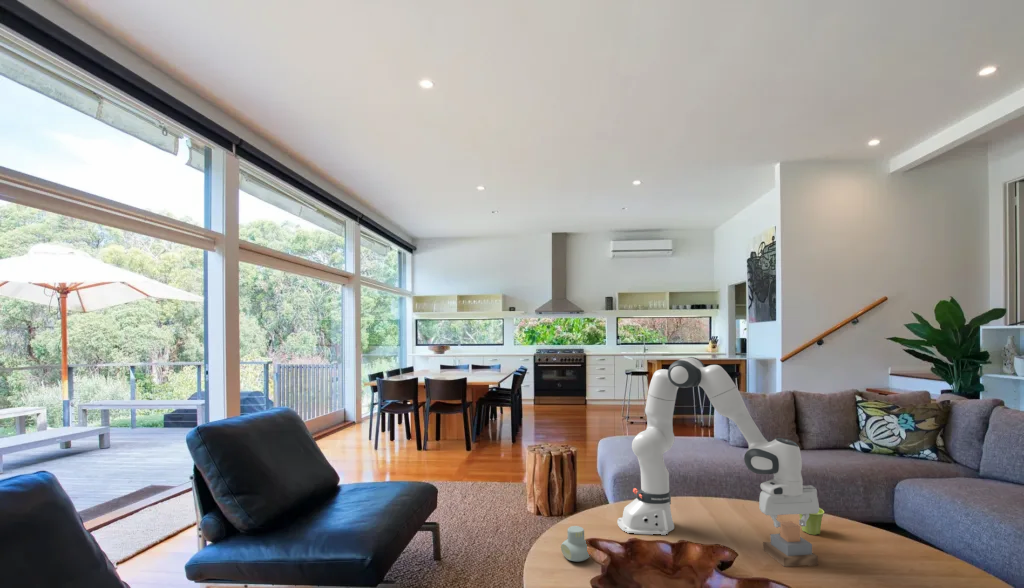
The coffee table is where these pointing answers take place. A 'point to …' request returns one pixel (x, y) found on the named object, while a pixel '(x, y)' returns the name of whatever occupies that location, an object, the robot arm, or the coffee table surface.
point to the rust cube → (790, 531)
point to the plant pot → (813, 523)
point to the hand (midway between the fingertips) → (790, 526)
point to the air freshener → (575, 545)
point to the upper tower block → (791, 546)
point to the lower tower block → (789, 557)
